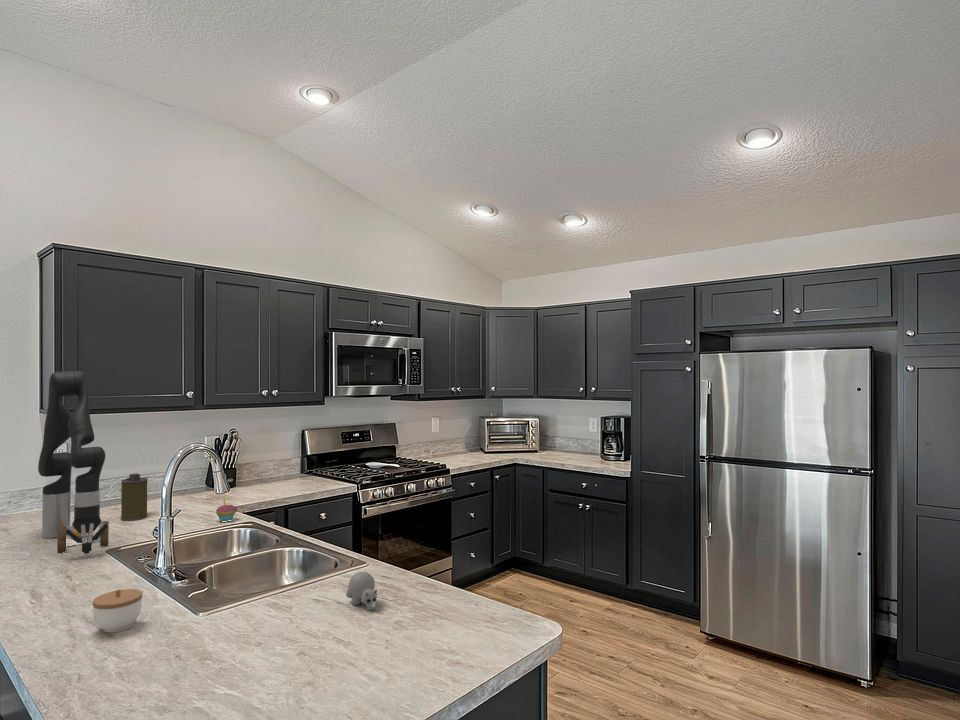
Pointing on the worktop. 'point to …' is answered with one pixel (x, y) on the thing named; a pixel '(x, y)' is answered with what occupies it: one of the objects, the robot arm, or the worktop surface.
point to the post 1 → (61, 540)
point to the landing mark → (94, 540)
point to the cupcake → (226, 511)
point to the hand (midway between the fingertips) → (86, 553)
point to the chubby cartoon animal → (362, 590)
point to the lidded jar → (117, 609)
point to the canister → (134, 498)
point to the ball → (77, 533)
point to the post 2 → (104, 535)
